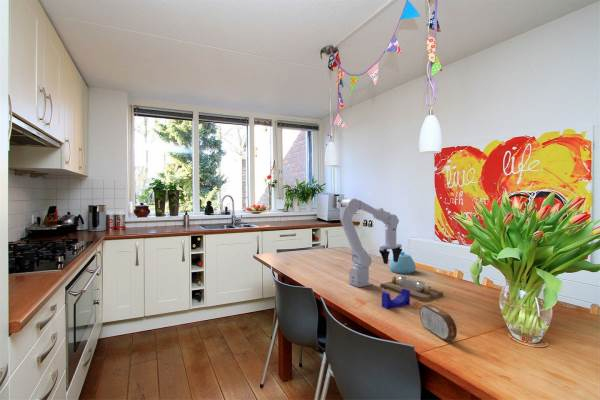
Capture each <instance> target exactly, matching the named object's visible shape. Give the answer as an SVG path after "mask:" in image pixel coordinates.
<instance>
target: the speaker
mask: <svg viewBox="0 0 600 400" xmlns="http://www.w3.org/2000/svg"><path fill="white" fill-rule="evenodd" d="M419 315H420V316H419V317H420V318H419V319H420V322H421V324H422V325H423V327H424V328H425V329H426V330H427V331H429V332H430V333H432V334H433V335H435V336H436V337H437V338H439V339H441V340H443V341H450V340H452V341H453V340H456V337H457V334H458V333H457V332H458V331H457V326H456V325H457V324H456V323H455V320H454V319H453V317H452V316H451V315H450V314H449V313H448V312H446V310H445V311H444V310H443V309H442V308H439V307H437V306H436V305H434V304H432V303H428V304H423V305H421V306H420V308H419Z"/></svg>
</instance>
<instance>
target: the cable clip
mask: <svg viewBox="0 0 600 400" xmlns="http://www.w3.org/2000/svg"><path fill="white" fill-rule="evenodd" d="M410 305H411V297H410V290H407V289H402V292H401V294H398V295H396V297H394V298H393V299H391V294H390V293H388V292H386V291H382V292H381V307H382V308H383V309H386V310H390V309H395V307H396V308H400V307H405V306H410Z"/></svg>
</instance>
